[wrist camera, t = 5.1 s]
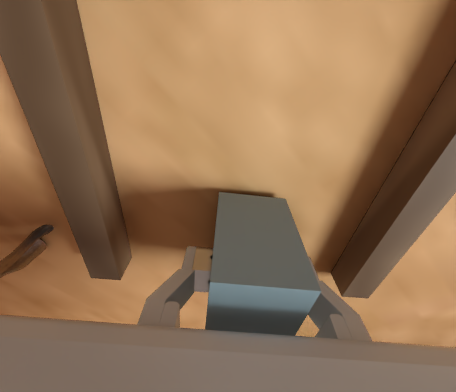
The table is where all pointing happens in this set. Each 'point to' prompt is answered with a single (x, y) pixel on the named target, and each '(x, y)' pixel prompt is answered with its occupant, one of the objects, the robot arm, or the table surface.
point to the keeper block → (258, 268)
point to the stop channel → (103, 172)
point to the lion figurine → (25, 251)
